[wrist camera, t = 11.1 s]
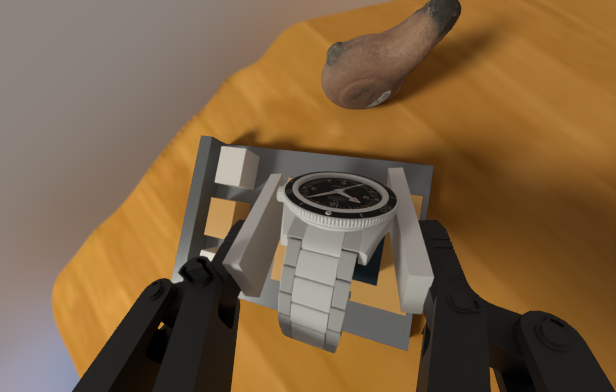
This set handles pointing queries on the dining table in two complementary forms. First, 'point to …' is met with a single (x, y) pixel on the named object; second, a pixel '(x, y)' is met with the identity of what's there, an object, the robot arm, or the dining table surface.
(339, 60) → the oil lamp
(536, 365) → the robot arm
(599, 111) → the dining table surface
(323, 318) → the watch
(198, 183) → the board
